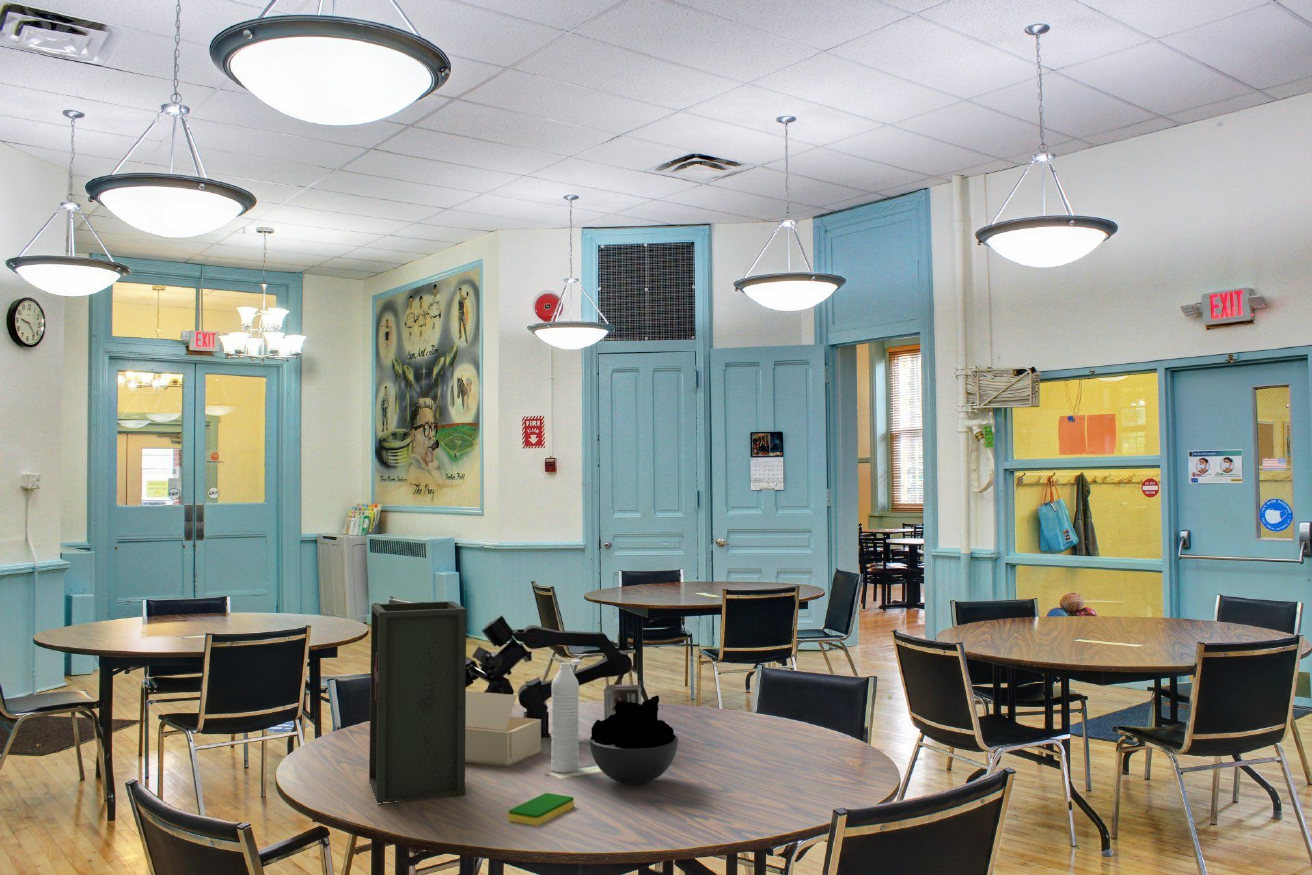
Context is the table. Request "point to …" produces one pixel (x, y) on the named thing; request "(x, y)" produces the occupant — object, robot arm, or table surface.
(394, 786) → the dark green square bin
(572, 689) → the water bottle
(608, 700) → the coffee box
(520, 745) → the carton
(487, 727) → the far flap
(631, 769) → the bowl of black rocks
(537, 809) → the dish sponge
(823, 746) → the table surface
